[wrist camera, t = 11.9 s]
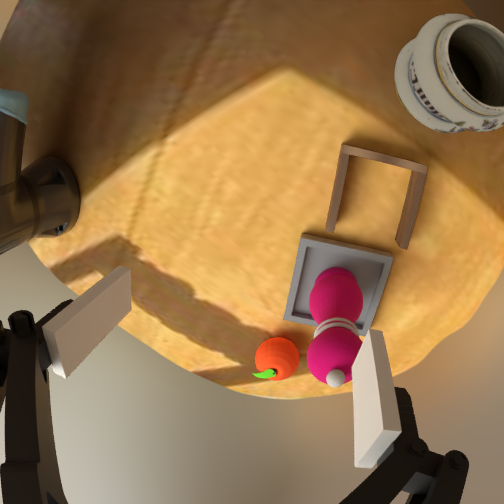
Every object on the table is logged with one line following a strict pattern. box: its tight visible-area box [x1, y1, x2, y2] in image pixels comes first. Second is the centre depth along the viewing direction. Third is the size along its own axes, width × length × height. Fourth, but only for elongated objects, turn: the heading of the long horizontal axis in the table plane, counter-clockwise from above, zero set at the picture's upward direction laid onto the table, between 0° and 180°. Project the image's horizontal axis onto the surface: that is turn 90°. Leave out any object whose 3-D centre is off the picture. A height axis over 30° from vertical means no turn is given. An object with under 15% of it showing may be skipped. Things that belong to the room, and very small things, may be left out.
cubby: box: [326, 144, 428, 250], centre depth 39 cm, size 11×11×4 cm
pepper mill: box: [307, 267, 363, 387], centre depth 36 cm, size 7×7×20 cm
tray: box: [283, 233, 394, 336], centre depth 45 cm, size 13×13×2 cm
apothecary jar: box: [395, 13, 504, 133], centre depth 25 cm, size 12×12×18 cm
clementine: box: [252, 337, 300, 380], centre depth 49 cm, size 8×7×7 cm
